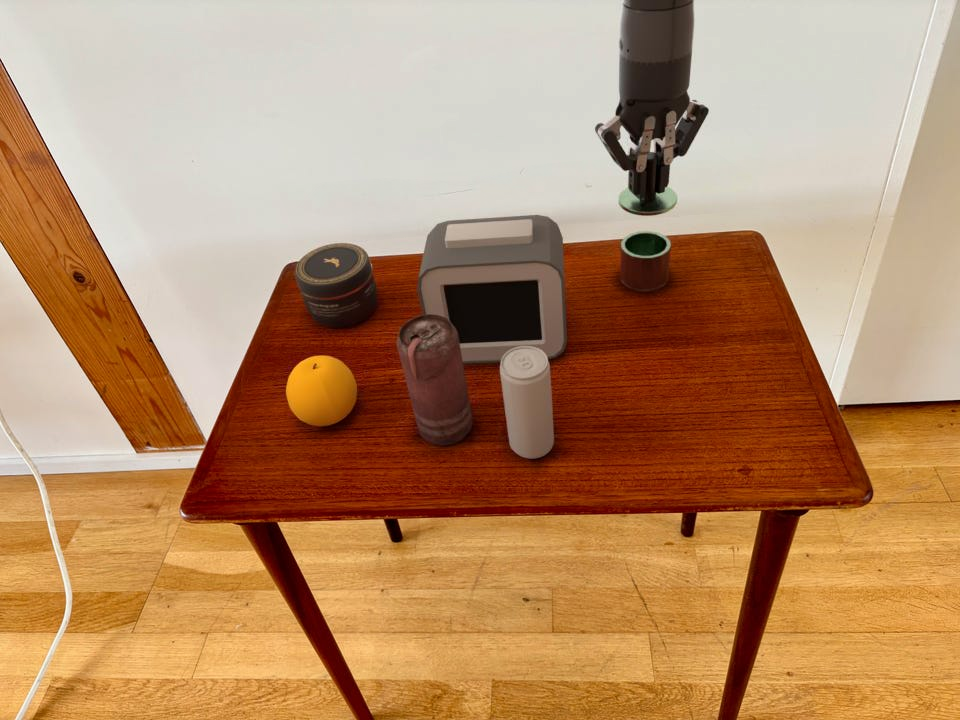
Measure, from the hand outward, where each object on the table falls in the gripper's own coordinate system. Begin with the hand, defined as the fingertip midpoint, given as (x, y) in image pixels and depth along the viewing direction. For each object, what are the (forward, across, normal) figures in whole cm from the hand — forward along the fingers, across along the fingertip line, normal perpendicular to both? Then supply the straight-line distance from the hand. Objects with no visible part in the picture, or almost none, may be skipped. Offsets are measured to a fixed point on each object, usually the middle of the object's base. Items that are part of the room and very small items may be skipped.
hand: (648, 192), depth 86 cm
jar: (+13, -39, +12) cm, 43 cm away
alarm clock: (+13, -21, -2) cm, 25 cm away
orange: (+13, -44, -7) cm, 46 cm away
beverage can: (+13, -24, -21) cm, 35 cm away
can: (+13, -32, -15) cm, 38 cm away
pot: (+13, 0, 0) cm, 13 cm away
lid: (+1, 0, 0) cm, 1 cm away
